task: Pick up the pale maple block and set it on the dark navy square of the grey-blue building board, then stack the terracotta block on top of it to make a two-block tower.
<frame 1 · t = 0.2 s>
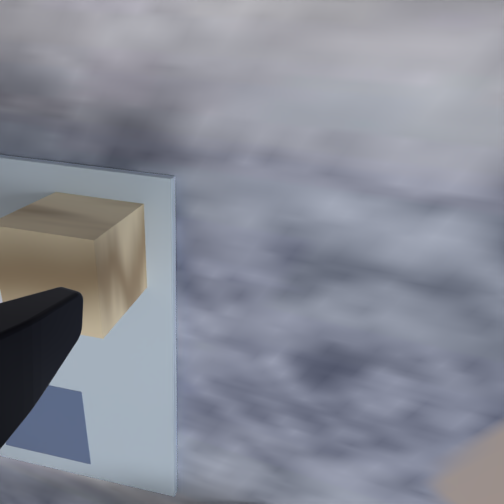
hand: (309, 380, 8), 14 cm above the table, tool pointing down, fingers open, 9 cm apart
build board: (46, 337, 28), on the table
maple block: (102, 241, 24), point 1 cm above the table, touching build board
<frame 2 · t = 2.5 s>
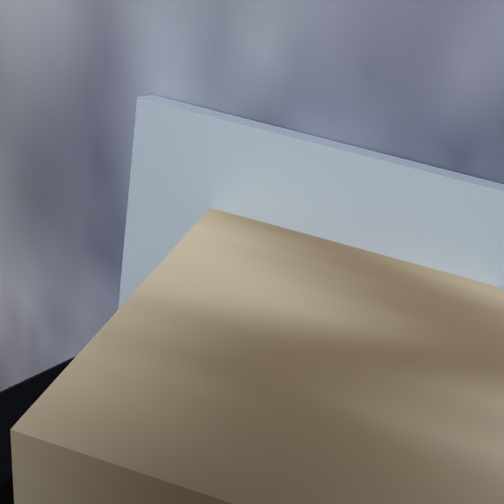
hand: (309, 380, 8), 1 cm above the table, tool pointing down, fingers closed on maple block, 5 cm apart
maple block: (311, 359, 8), point 1 cm above the table, touching build board, gripper
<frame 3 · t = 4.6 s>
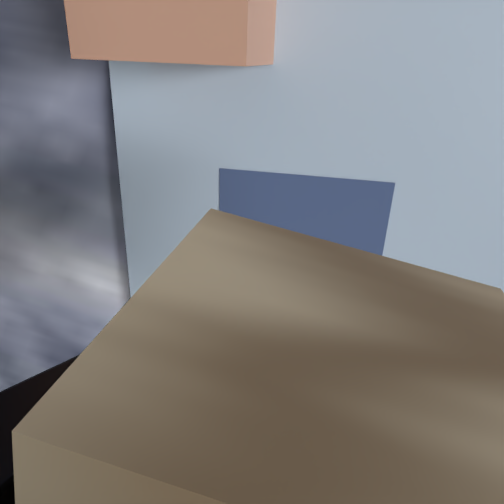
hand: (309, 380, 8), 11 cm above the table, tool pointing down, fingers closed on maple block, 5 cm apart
build board: (340, 81, 16), on the table
maple block: (311, 360, 8), point 11 cm above the table, touching gripper
when the fingers open (2 cm above the table, at t = 7.0 s): maple block stays where it is, resting on build board.
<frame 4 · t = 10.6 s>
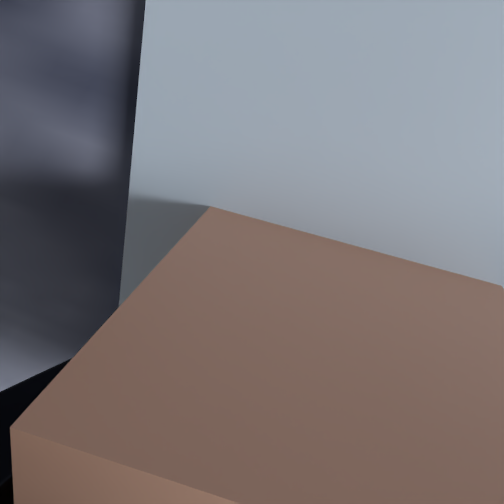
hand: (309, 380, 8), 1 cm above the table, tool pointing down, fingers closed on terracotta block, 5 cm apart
terracotta block: (311, 358, 8), point 1 cm above the table, touching build board, gripper
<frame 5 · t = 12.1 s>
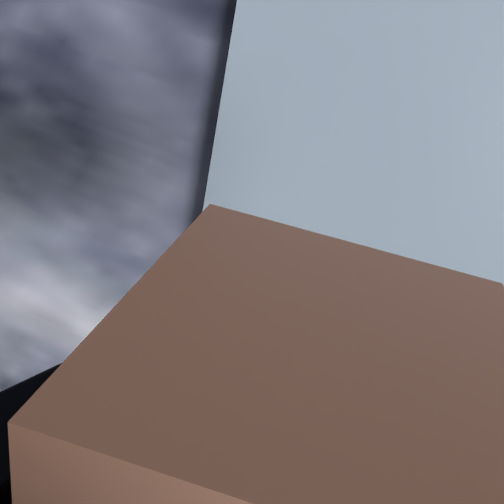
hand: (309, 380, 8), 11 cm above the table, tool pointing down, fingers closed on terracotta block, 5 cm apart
build board: (414, 247, 18), on the table
terracotta block: (311, 356, 8), point 11 cm above the table, touching gripper
when the fingers open (7 cm above the table, at t = 14.0 s): terracotta block stays where it is, resting on maple block.
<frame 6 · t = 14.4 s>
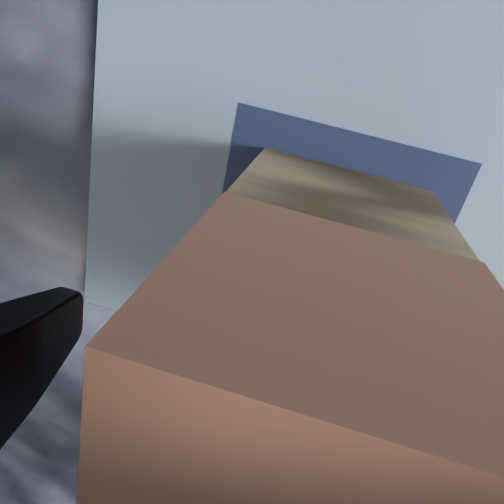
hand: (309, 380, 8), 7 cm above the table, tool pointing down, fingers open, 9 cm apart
build board: (437, 3, 11), on the table
maple block: (323, 244, 14), point 1 cm above the table, touching build board, terracotta block
terracotta block: (314, 331, 9), point 6 cm above the table, touching maple block
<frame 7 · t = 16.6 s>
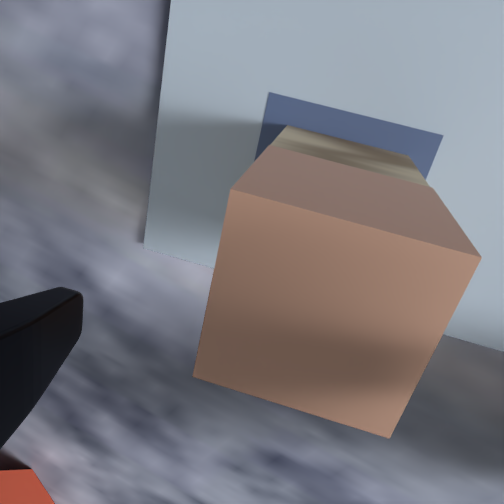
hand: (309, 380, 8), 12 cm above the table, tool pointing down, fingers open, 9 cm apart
french fries container: (31, 494, 33), on the table
build board: (410, 21, 16), on the table
maple block: (329, 197, 18), point 1 cm above the table, touching build board, terracotta block
terracotta block: (325, 240, 14), point 6 cm above the table, touching maple block
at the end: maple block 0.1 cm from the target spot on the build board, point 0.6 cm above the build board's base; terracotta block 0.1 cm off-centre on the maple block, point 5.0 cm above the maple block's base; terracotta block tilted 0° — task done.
